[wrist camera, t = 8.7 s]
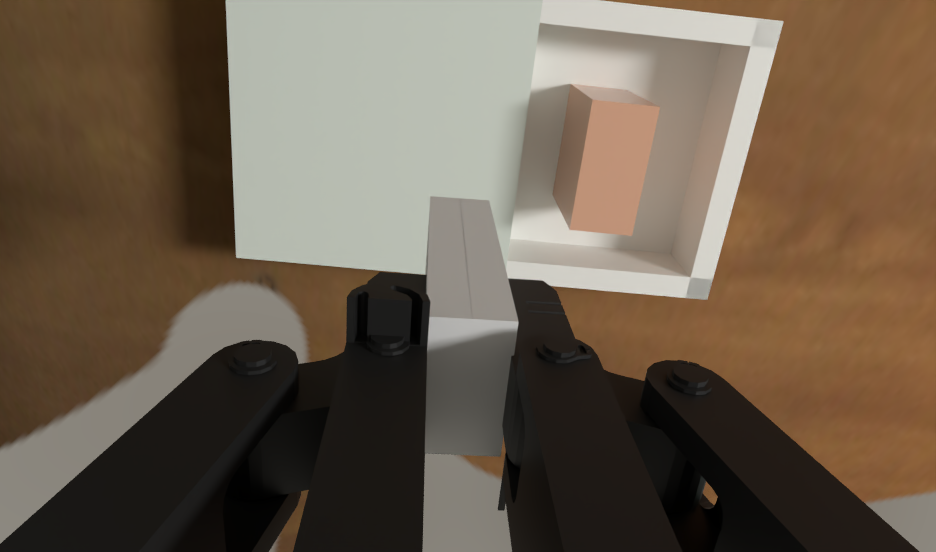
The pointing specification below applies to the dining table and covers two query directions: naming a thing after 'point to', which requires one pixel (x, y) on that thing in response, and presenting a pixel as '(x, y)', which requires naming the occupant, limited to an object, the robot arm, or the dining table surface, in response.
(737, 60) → the box
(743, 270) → the dining table surface
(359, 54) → the white flat block
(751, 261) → the dining table surface
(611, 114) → the tile
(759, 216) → the dining table surface
